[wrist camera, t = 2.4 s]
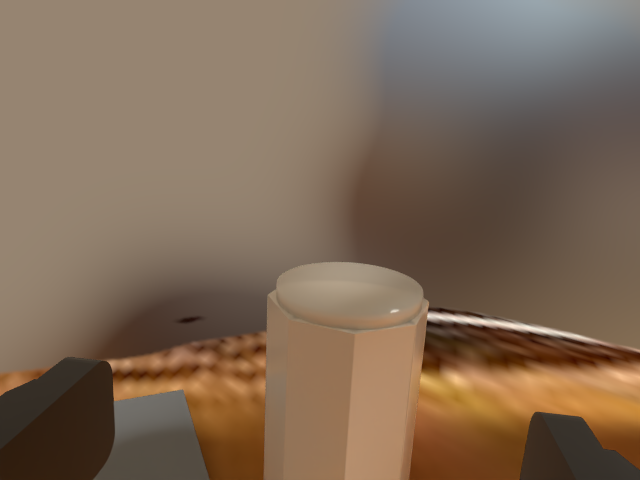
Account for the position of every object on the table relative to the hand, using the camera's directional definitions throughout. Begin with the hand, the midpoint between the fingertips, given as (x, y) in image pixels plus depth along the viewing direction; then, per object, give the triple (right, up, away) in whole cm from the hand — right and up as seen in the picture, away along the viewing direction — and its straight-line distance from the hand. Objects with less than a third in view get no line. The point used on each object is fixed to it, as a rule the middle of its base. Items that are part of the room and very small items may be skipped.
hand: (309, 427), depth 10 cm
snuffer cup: (+1, -8, +14) cm, 16 cm away
